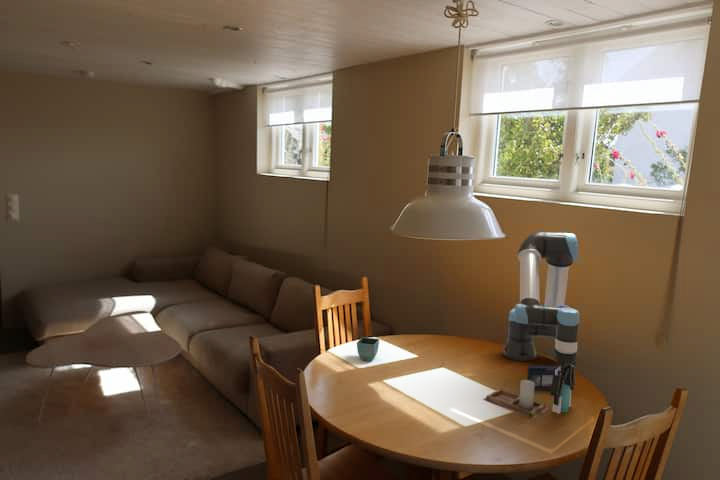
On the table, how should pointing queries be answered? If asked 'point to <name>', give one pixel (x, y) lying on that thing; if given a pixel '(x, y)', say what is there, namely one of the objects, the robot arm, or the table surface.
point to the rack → (514, 403)
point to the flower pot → (367, 348)
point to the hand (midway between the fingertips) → (561, 408)
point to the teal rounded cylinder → (565, 398)
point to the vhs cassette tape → (541, 376)
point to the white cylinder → (526, 394)
